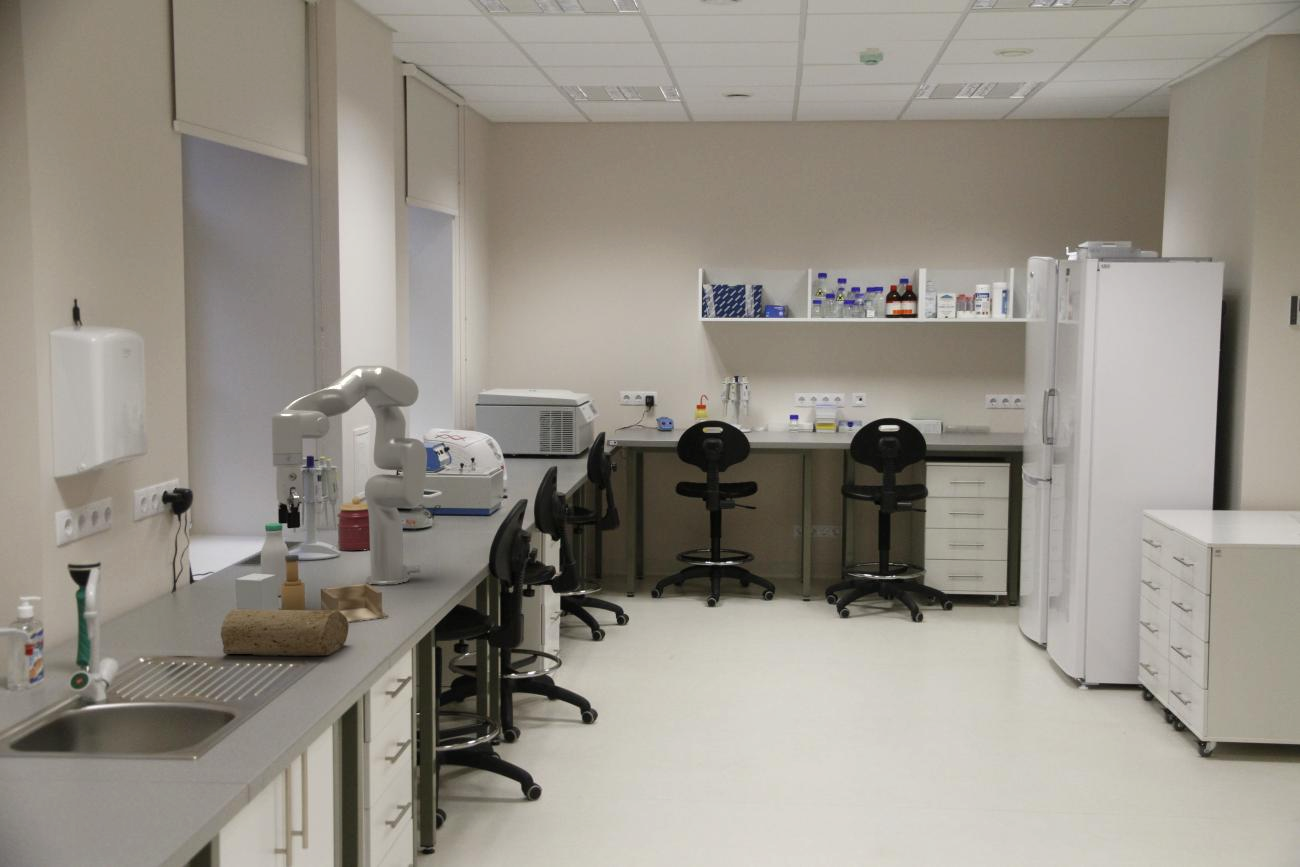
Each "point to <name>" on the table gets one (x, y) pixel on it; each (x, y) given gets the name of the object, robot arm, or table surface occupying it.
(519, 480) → the table surface
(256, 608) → the supplement box
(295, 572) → the bottle
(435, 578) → the table surface
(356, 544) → the canister
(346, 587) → the u rest
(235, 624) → the core sample
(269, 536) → the milk bottle
